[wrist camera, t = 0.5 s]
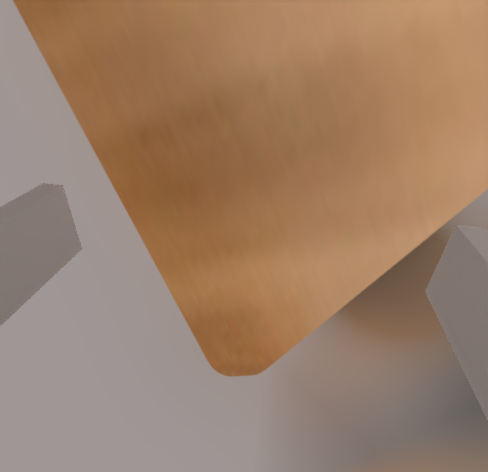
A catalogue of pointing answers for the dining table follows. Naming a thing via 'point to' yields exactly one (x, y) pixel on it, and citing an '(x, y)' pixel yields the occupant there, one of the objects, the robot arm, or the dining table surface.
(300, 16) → the dining table surface
